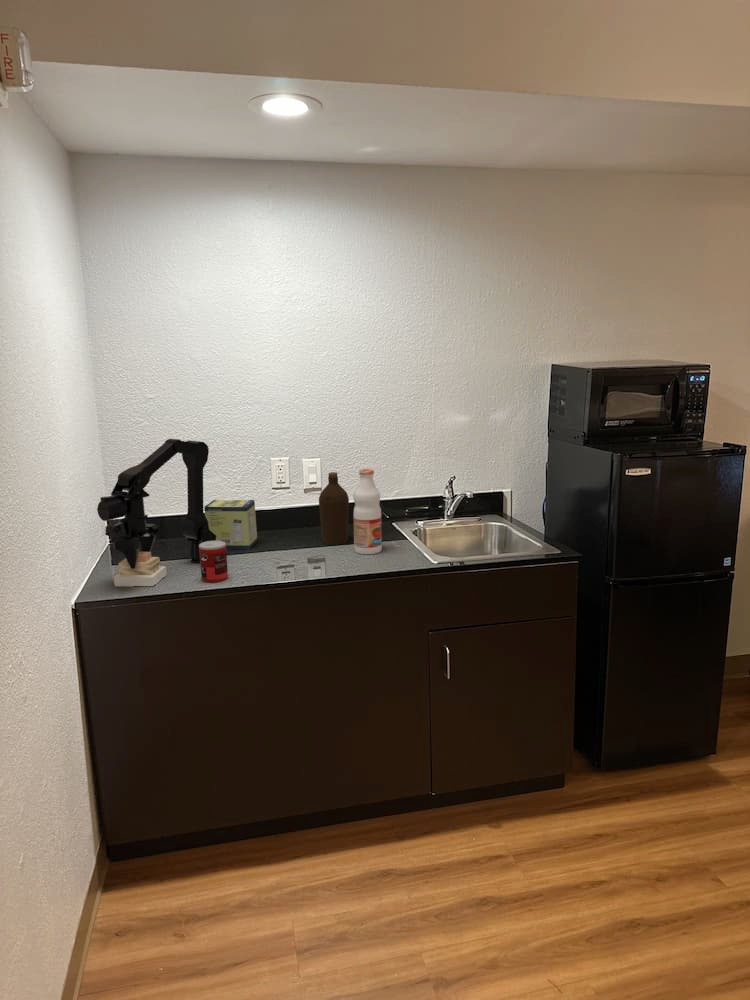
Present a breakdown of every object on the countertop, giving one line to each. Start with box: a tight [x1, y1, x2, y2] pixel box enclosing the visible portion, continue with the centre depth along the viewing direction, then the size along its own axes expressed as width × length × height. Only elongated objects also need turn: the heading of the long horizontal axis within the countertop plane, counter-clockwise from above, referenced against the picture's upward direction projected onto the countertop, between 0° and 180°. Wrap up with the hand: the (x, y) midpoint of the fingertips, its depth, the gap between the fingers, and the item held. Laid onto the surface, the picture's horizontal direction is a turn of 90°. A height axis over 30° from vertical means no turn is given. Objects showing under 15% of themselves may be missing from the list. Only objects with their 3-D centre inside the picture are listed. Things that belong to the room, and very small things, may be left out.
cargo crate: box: [126, 551, 152, 562], centre depth 206 cm, size 6×4×2 cm, turn 85°
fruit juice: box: [352, 468, 383, 555], centre depth 230 cm, size 9×9×28 cm
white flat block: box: [113, 565, 168, 587], centre depth 207 cm, size 12×10×3 cm
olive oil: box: [318, 471, 350, 546], centre depth 242 cm, size 11×11×25 cm
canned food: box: [199, 541, 229, 583], centre depth 207 cm, size 8×8×11 cm
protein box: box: [203, 499, 258, 551], centre depth 241 cm, size 10×16×16 cm
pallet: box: [118, 556, 161, 575], centre depth 206 cm, size 10×6×4 cm, turn 85°
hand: (139, 563), depth 206 cm, fingers open, 9 cm apart
